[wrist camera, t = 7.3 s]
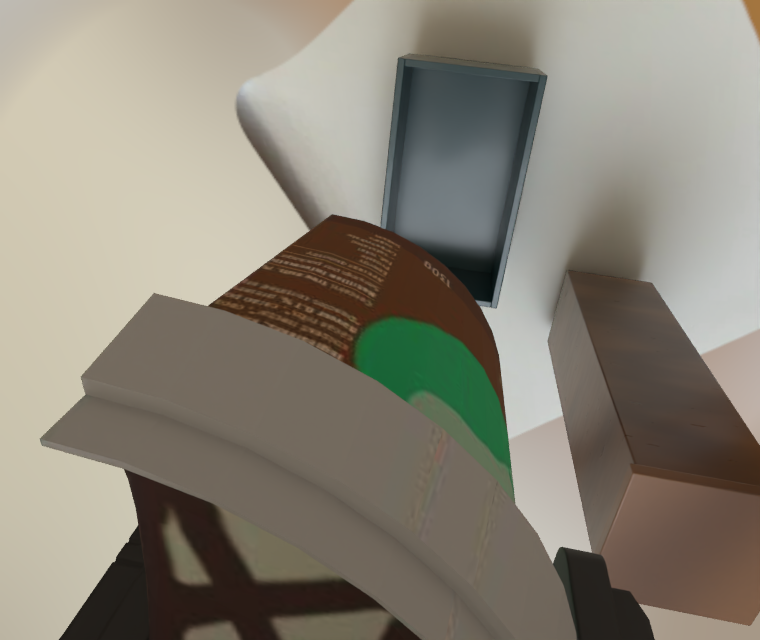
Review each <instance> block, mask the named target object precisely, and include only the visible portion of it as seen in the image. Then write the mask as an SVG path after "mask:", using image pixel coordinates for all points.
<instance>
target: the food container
mask: <svg viewBox="0 0 760 640" xmlns="http://www.w3.org/2000/svg"><path fill="white" fill-rule="evenodd" d="M81 380H82V384H83V387H84V390H85V394H86V395H85V396H84V397H83V398H82V399H80V401H78V402H77V403H76V404H75V405H74V406H73V407H72V408H71V409H70V410H69V411H68V412H67V413H66V414H65V415H64V416H63V417H62V418H61V419H60V420H59V421H58V422H57V423H56V424H55V425H54V426H53V427H51V429H49V430H48V431H47V432H46V433H45V434H44V435H43V436H42V437H41V438H40V441H41V444H42V446H46V447H49V448H52V449H56V450H60V451H63V452H66V453H70V454H73V455H77V456H81V457H84V458H88V459H91V460H95V461H98V462H102V463H106V464H109V465H113V466H116V467H120V468H123V469H124V470H125V473H126V475H127V478H128V480H129V484H130V488H131V492H132V496H133V499H134V503H135V507H136V512H137V519H138V526H139V532H140V539H141V545H142V552H143V559H144V565H145V572H146V585H147V598H148V614H149V640H577V636H576V630H575V626H574V623H573V619H572V615H571V611H570V607H569V604H568V600H567V596H566V592H565V588H564V585H563V583H562V581H561V579H560V577H559V575H558V573H557V571H556V569H555V567H554V565H553V563H552V561H551V560H550V558H549V556H548V554H547V552H546V550H545V548H544V546H543V544H542V542H541V540H540V538H539V536H538V534H537V533H536V532H535V530H534V529H533V527H532V526H531V525H530V523H529V522H528V521H527V519H526V518H525V517H524V516H523V514H522V513H521V511H520V510H519V509H518V508H517V506H516V505H515V498H514V488H513V479H512V470H511V460H510V451H509V442H508V433H507V424H506V415H505V406H504V397H503V388H502V379H501V370H500V361H499V354H498V351H497V347H496V343H495V340H494V336H493V333H492V330H491V328H490V326H489V324H488V322H487V320H486V318H485V316H484V314H483V312H482V310H481V308H480V306H479V305H478V304H477V302H476V301H475V299H474V298H473V297H472V295H471V294H470V292H469V291H468V290H467V288H466V287H465V285H464V284H463V283H462V282H461V281H460V280H459V279H458V278H457V277H456V276H455V275H454V274H453V273H452V272H451V271H450V270H449V269H448V268H447V267H446V266H445V265H444V264H442V263H441V262H440V261H438V260H437V259H436V258H434V257H433V256H432V255H430V254H429V253H428V252H427V251H425V250H424V249H423V248H421V247H420V246H418V245H416V244H414V243H412V242H411V241H409V240H407V239H405V238H403V237H401V236H400V235H398V234H396V233H394V232H392V231H389V230H387V229H384V228H381V227H378V226H376V225H373V224H370V223H368V222H365V221H361V220H356V219H351V218H347V217H342V216H337V215H333V214H332V215H330V216H329V217H328V218H326V219H325V220H324V221H322V222H321V223H320V224H318V225H317V226H316V227H314V228H313V229H311V230H310V231H309V232H307V233H306V234H305V235H303V236H302V237H301V238H299V239H298V240H297V241H296V242H294V243H293V244H291V245H290V246H288V247H287V248H286V249H285V250H283V251H282V252H280V253H279V254H278V255H276V256H275V257H274V258H272V259H271V260H270V261H268V262H267V263H265V264H264V265H263V266H261V267H260V268H259V269H257V270H256V271H255V272H253V273H252V274H251V275H249V276H248V277H247V278H245V279H244V280H243V281H241V282H240V283H238V284H237V285H236V286H234V287H233V288H232V289H230V290H229V291H228V292H226V293H225V294H223V295H222V296H221V297H219V298H218V299H217V300H215V301H214V302H213V303H211V304H210V305H209V306H204V305H200V304H196V303H192V302H188V301H184V300H180V299H175V298H172V297H168V296H163V295H159V294H155V293H154V294H153V295H152V296H151V297H150V298H149V299H148V301H147V302H146V303H145V304H144V305H143V306H142V307H141V309H140V310H139V311H138V312H137V313H136V314H135V315H134V317H133V318H132V319H131V320H130V321H129V322H128V323H127V325H126V326H125V327H124V328H123V329H122V330H121V331H120V333H119V334H118V335H117V336H116V337H115V338H114V340H113V341H112V342H111V343H110V344H109V345H108V346H107V347H106V349H105V350H104V351H103V352H102V353H101V354H100V356H99V357H98V358H97V359H96V360H95V361H94V362H93V364H92V365H91V366H90V367H89V368H88V369H87V370H86V371H85V373H84V374H83V375H82V376H81Z"/></svg>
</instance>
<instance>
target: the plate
mask: <svg viewBox="0 0 760 640" xmlns="http://www.w3.org/2000/svg"><path fill="white" fill-rule="evenodd" d="M594 553H595V554H600V555H602V556H603V558H604V560H605V562H606V566H607V570H608V575H609V579H610V584H611V587H612V588H617V589H621V590H626V591H630V592H631V593H632V595H633V596H634V598H635V599H636V601H637V602H638V604H643V605H648V606H653V607H658V608H663V609H669V610H674V611H678V612H683V613H689V614H693V615H698V616H703V617H708V618H713V619H718V620H723V621H728V622H733V623H738V624H743V625H748V626H750V625H751V624H752V623H753V621H754V620H755V618H756V616H757V615H758V613H759V611H760V486H756V485H750V484H744V483H739V482H733V481H728V480H722V479H716V478H711V477H705V476H700V475H694V474H688V473H683V472H677V471H671V470H666V469H660V468H655V467H649V466H643V465H638V464H632V463H630V464H629V467H628V469H627V472H626V474H625V477H624V479H623V482H622V484H621V487H620V489H619V492H618V494H617V497H616V499H615V502H614V504H613V507H612V509H611V512H610V514H609V517H608V519H607V522H606V524H605V527H604V529H603V532H602V534H601V537H600V539H599V542H598V544H597V547H596V549H595V552H594Z"/></svg>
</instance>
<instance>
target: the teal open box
mask: <svg viewBox="0 0 760 640" xmlns="http://www.w3.org/2000/svg"><path fill="white" fill-rule="evenodd" d="M546 81H547V75H546V74H544V73H543V72H542V71H540V70H539V69H536V68H528V67H519V66H511V65H502V64H494V63H485V62H477V61H469V60H460V59H452V58H443V57H435V56H426V55H418V54H410V53H409V54H407V55H404V56H402V57H399V58H398V64H397V73H396V83H395V92H394V102H393V112H392V121H391V131H390V140H389V150H388V160H387V169H386V179H385V188H384V198H383V207H382V217H381V228H384V229H387V230H389V231H392V232H394V233H396V234H398V235H400V236H401V237H403V238H405V239H407V240H409V241H411V242H412V243H414V244H416V245H418V246H420V247H421V248H423V249H424V250H425V251H427V252H428V253H429V254H430V255H432V256H433V257H434V258H436V259H437V260H438V261H440V262H441V263H442V264H444V265H445V266H446V267H447V268H448V269H449V270H450V271H451V272H452V273H453V274H454V275H455V276H456V277H457V278H458V279H459V280H460V281H461V282H462V283H463V284H464V285H465V287H466V288H467V290H468V291H469V292H470V294H471V295H472V297H473V298H474V299H475V301H476V302H477V304H478V305H479V306H484V307H491V308H497V304H498V300H499V295H500V291H501V286H502V282H503V277H504V272H505V268H506V263H507V259H508V254H509V250H510V245H511V240H512V236H513V231H514V227H515V222H516V218H517V213H518V208H519V204H520V199H521V195H522V190H523V186H524V181H525V176H526V172H527V167H528V163H529V158H530V154H531V149H532V144H533V140H534V135H535V131H536V126H537V122H538V117H539V113H540V108H541V103H542V99H543V94H544V90H545V85H546Z"/></svg>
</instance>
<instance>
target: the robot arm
mask: <svg viewBox="0 0 760 640" xmlns="http://www.w3.org/2000/svg"><path fill="white" fill-rule="evenodd" d="M553 565H554V567H555V569H556V571H557V573H558V575H559V577H560V579H561V581H562V583H563V585H564V588H565V592H566V596H567V600H568V604H569V607H570V611H571V615H572V619H573V623H574V626H575V630H576V636H577V640H655V639H654V636H653V632H652V629H651V625H650V621H649V619H648V617H647V616H646V614H645V613H644V612H643V610H642V609H641V607H640V605H639V604H638V602H637V601H636V599H635V598H634V596H633V595H632V593H631V592H630V591H626V590H621V589H617V588H612V587H611V584H610V579H609V575H608V570H607V566H606V562H605V560H604V558H603V556H602V555H600V554H595V553H589V552H584V551H580V550H574V549H569V548H564V547H560V548H559V550H558V552H557V554H556V557H555V560H554V563H553ZM59 640H149V614H148V598H147V585H146V572H145V565H144V559H143V552H142V545H141V539H140V532H139V526H137V528H136V529H135V531H134V532H133V534H132V535H131V537H130V538H129V542H128V543H126V544H125V545H124V547H123V548H122V549H121V551H120V552H119V554H118V555H117V557H116V561H115V562H113V563H112V564H111V566H110V567H109V568H108V570H107V571H106V573H105V574H104V576H103V577H102V579H101V580H100V581H99V583H98V584H97V586H96V587H95V589H94V590H93V592H92V593H91V594H90V596H89V597H88V599H87V600H86V602H85V603H84V605H83V606H82V608H81V609H80V610H79V612H78V613H77V615H76V616H75V618H74V619H73V621H72V622H71V624H70V625H69V626H68V628H67V629H66V631H65V632H64V634H63V635H62V636H61V638H60V639H59Z"/></svg>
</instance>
